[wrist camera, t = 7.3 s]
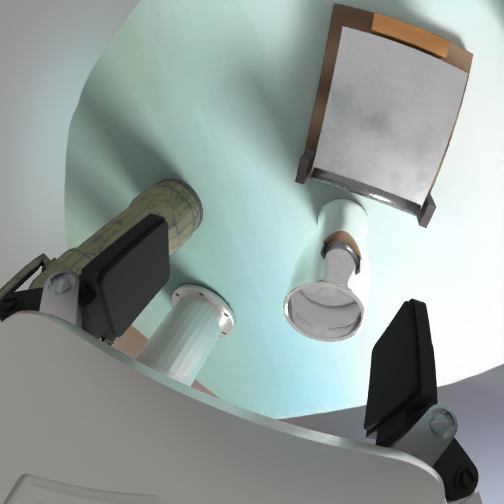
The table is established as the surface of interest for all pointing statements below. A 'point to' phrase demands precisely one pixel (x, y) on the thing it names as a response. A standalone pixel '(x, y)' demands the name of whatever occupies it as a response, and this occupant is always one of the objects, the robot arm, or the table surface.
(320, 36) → the table surface
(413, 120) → the grey marble tile
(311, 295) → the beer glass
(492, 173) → the table surface
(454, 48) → the plate
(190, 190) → the thermos
